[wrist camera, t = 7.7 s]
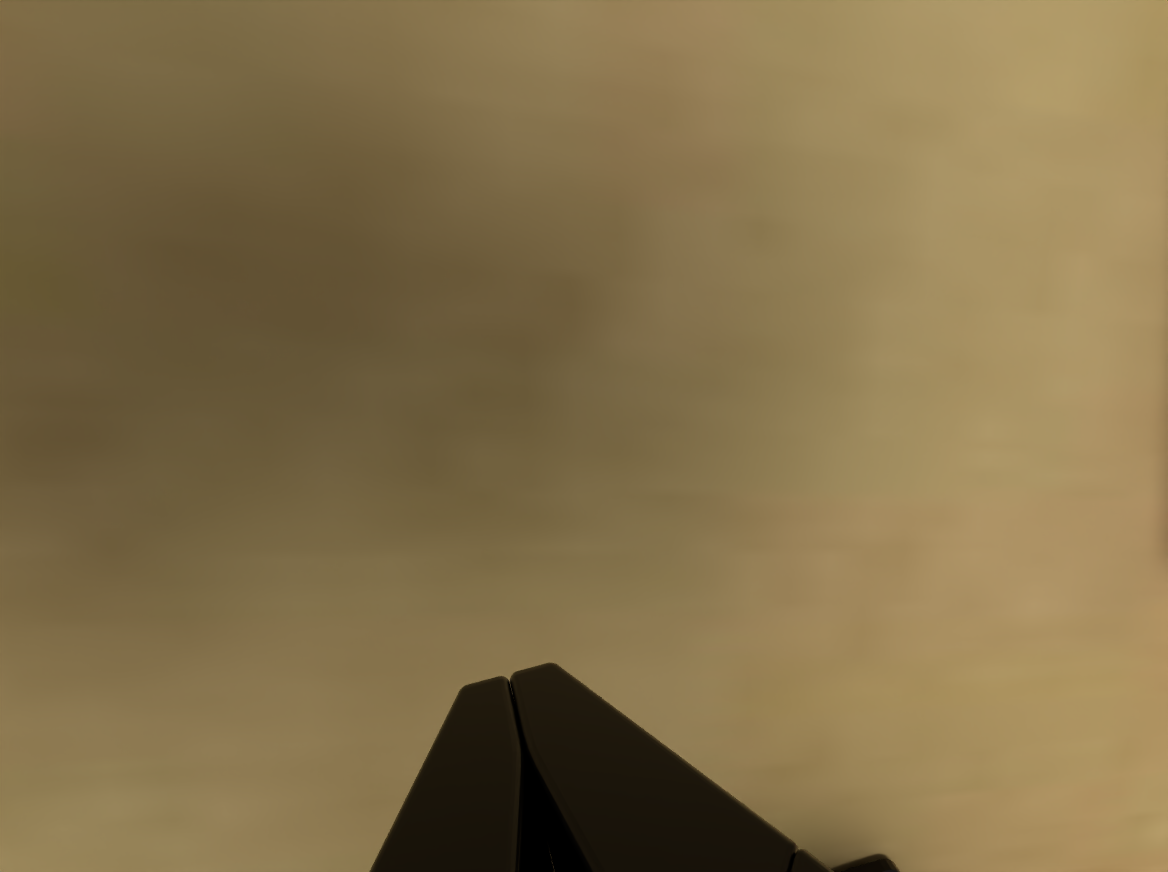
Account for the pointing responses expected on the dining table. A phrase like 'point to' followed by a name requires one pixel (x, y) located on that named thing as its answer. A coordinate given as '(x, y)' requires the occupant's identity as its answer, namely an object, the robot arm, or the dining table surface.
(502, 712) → the robot arm
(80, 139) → the dining table surface
